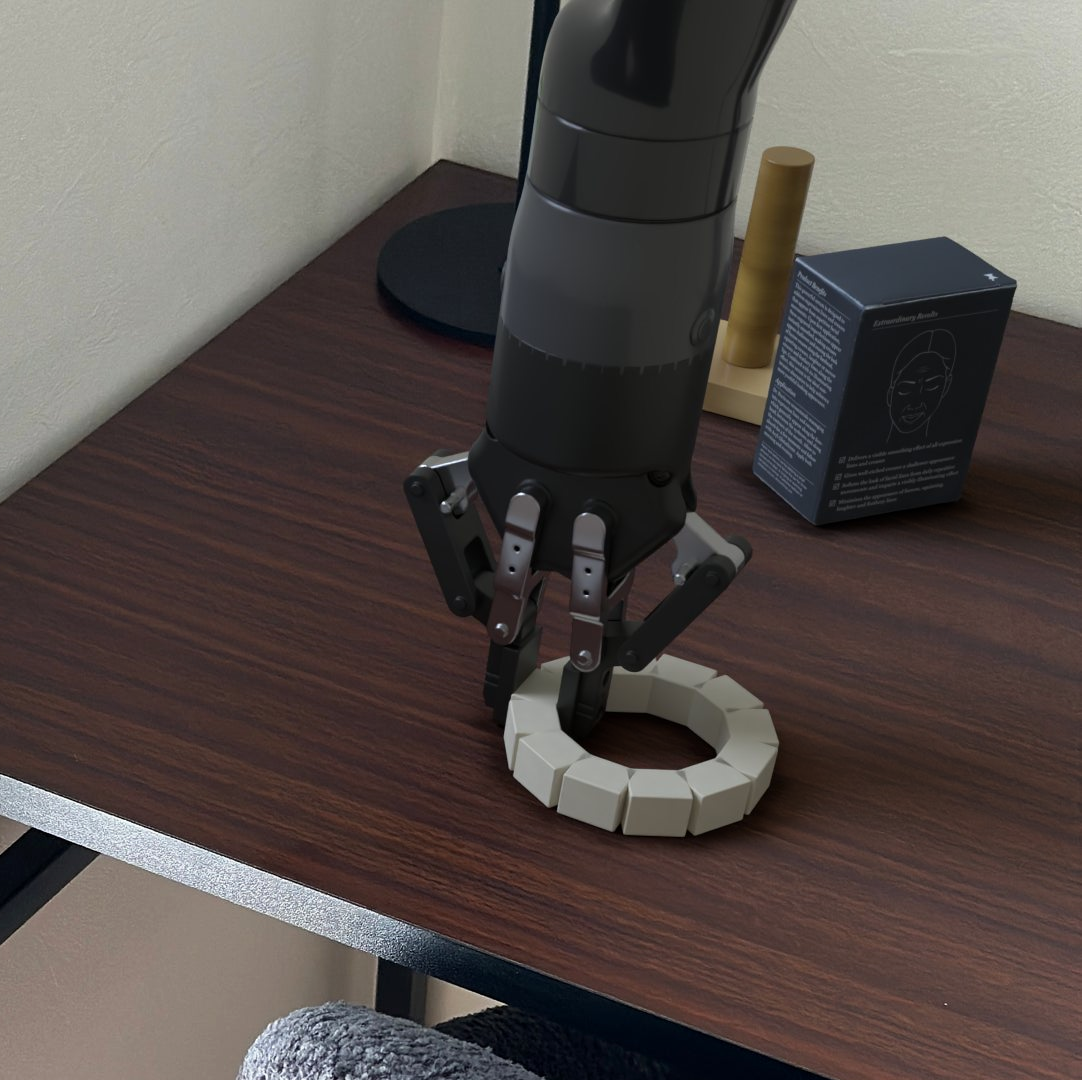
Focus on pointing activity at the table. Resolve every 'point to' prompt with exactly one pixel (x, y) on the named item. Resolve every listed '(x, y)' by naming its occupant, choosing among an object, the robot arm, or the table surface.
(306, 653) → the table surface
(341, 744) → the table surface
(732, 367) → the post
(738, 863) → the table surface
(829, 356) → the box
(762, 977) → the table surface
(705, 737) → the ring
